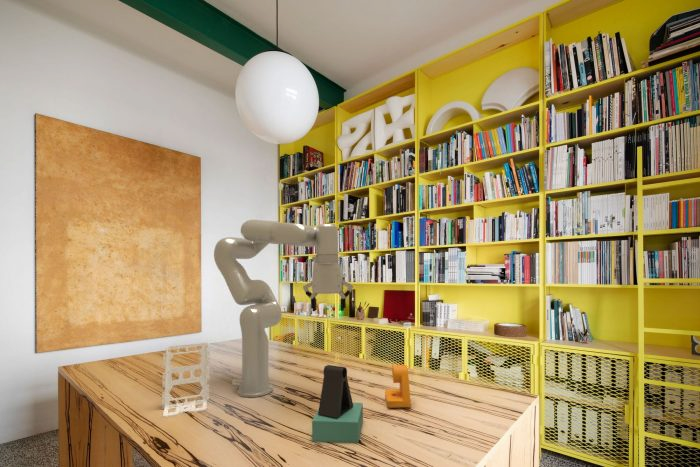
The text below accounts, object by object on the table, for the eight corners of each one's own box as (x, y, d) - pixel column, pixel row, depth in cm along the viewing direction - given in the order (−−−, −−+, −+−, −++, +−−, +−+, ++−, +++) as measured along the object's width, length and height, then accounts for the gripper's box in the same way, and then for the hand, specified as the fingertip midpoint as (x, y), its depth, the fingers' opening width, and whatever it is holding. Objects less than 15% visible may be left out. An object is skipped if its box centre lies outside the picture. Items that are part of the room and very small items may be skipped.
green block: (312, 441, 90) (312, 420, 90) (322, 419, 103) (322, 401, 103) (358, 442, 88) (357, 422, 89) (363, 420, 101) (362, 402, 102)
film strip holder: (159, 418, 106) (161, 351, 108) (163, 403, 119) (165, 343, 121) (209, 410, 112) (210, 346, 114) (208, 396, 125) (209, 339, 127)
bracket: (385, 397, 119) (383, 361, 120) (406, 397, 119) (404, 361, 120) (387, 410, 108) (386, 370, 110) (410, 409, 108) (409, 370, 109)
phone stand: (336, 419, 91) (335, 372, 92) (317, 415, 94) (317, 369, 95) (353, 407, 98) (352, 363, 100) (335, 403, 101) (334, 361, 103)
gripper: (300, 260, 117) (300, 312, 115) (350, 259, 114) (352, 311, 113) (305, 261, 124) (306, 309, 122) (353, 259, 122) (355, 309, 120)
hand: (328, 310), depth 117 cm, fingers open, 9 cm apart
